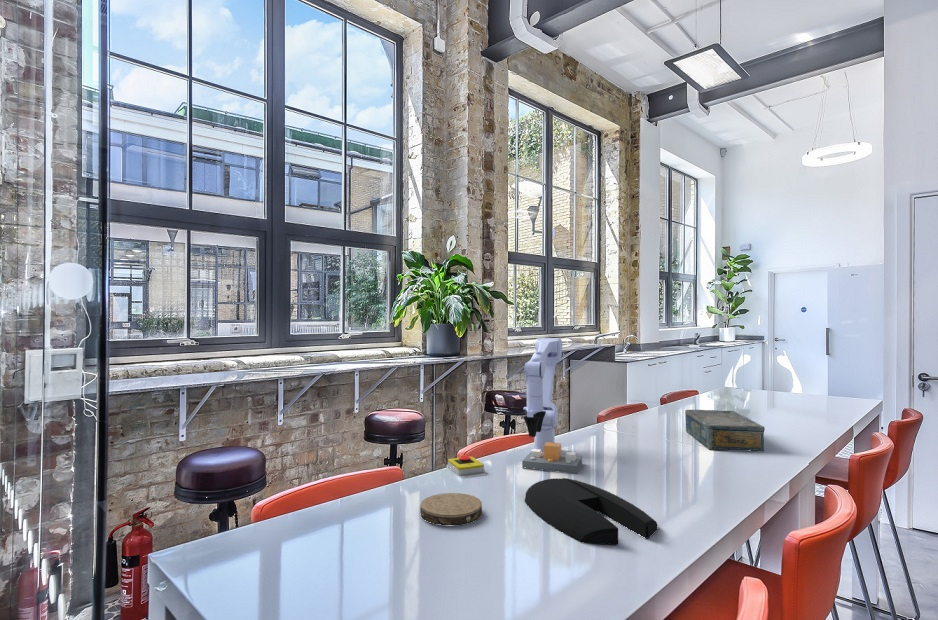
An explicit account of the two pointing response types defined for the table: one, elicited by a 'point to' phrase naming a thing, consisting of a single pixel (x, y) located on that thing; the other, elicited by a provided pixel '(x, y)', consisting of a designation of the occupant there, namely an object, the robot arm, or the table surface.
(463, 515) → the wood slice
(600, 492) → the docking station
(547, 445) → the orange rounded cube
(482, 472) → the emergency button
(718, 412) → the metal box
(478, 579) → the table surface
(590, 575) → the table surface
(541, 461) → the breaker board
